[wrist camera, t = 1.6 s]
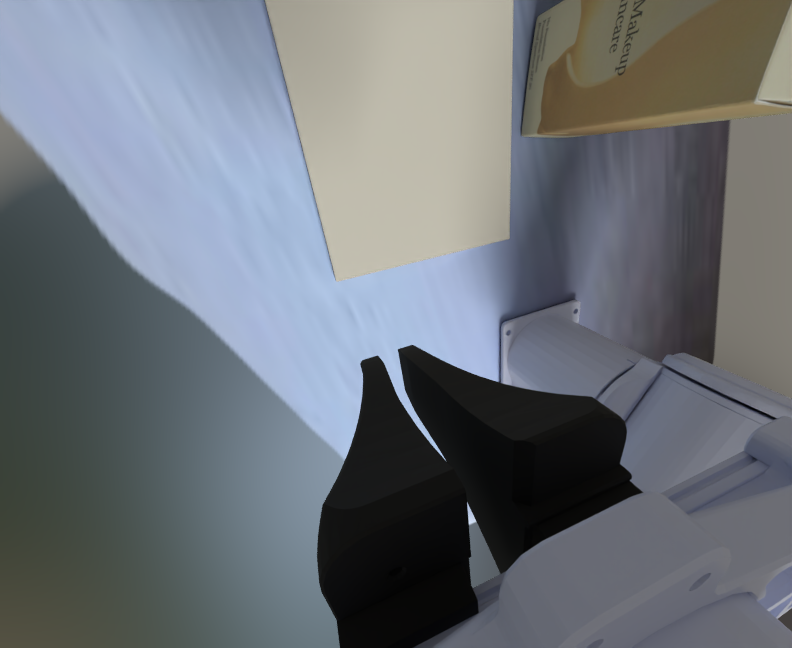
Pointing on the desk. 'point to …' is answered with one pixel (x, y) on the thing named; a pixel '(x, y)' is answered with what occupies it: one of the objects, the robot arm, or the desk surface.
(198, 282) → the desk surface
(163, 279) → the desk surface
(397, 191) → the mat
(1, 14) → the desk surface
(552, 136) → the skincare box
